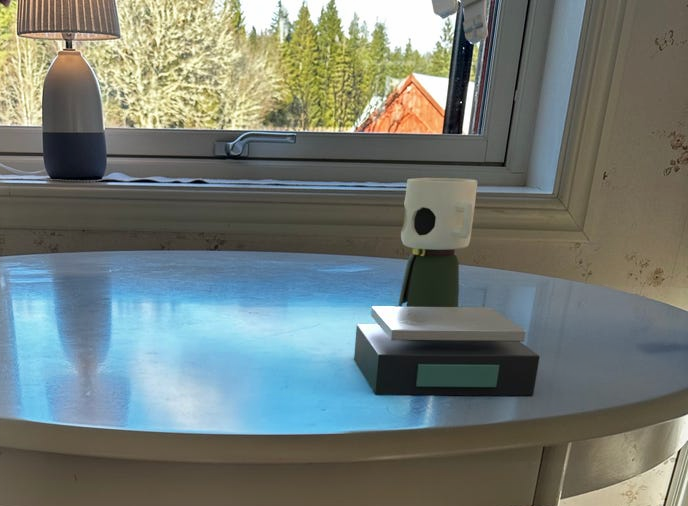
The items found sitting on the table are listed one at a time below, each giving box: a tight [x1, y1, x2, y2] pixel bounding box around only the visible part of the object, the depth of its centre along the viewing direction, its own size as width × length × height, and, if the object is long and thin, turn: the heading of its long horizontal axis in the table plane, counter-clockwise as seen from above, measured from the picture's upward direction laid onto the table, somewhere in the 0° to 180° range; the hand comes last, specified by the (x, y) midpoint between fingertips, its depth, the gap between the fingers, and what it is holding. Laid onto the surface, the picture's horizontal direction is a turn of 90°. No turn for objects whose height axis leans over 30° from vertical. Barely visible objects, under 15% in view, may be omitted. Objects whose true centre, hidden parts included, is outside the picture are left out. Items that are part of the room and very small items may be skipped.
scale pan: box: [370, 305, 527, 343], centre depth 75 cm, size 10×10×1 cm
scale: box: [353, 323, 541, 397], centre depth 77 cm, size 12×12×3 cm
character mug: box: [397, 177, 478, 307], centre depth 100 cm, size 11×7×13 cm, turn 23°
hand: (463, 27), depth 86 cm, fingers open, 8 cm apart
